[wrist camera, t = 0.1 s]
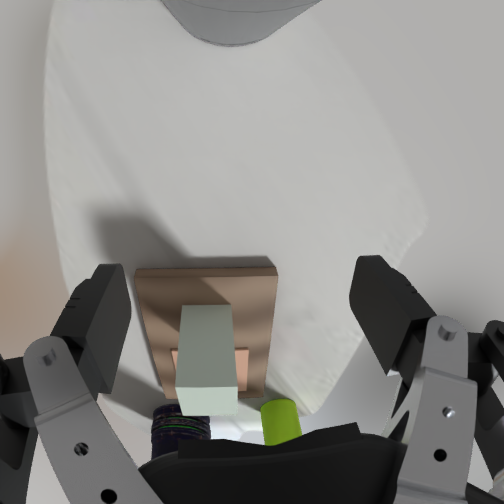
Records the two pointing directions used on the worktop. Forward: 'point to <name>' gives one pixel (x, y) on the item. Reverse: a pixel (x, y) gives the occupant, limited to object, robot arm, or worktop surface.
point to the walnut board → (209, 293)
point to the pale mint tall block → (206, 361)
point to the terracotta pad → (241, 366)
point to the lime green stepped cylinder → (280, 421)
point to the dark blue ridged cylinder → (176, 429)
